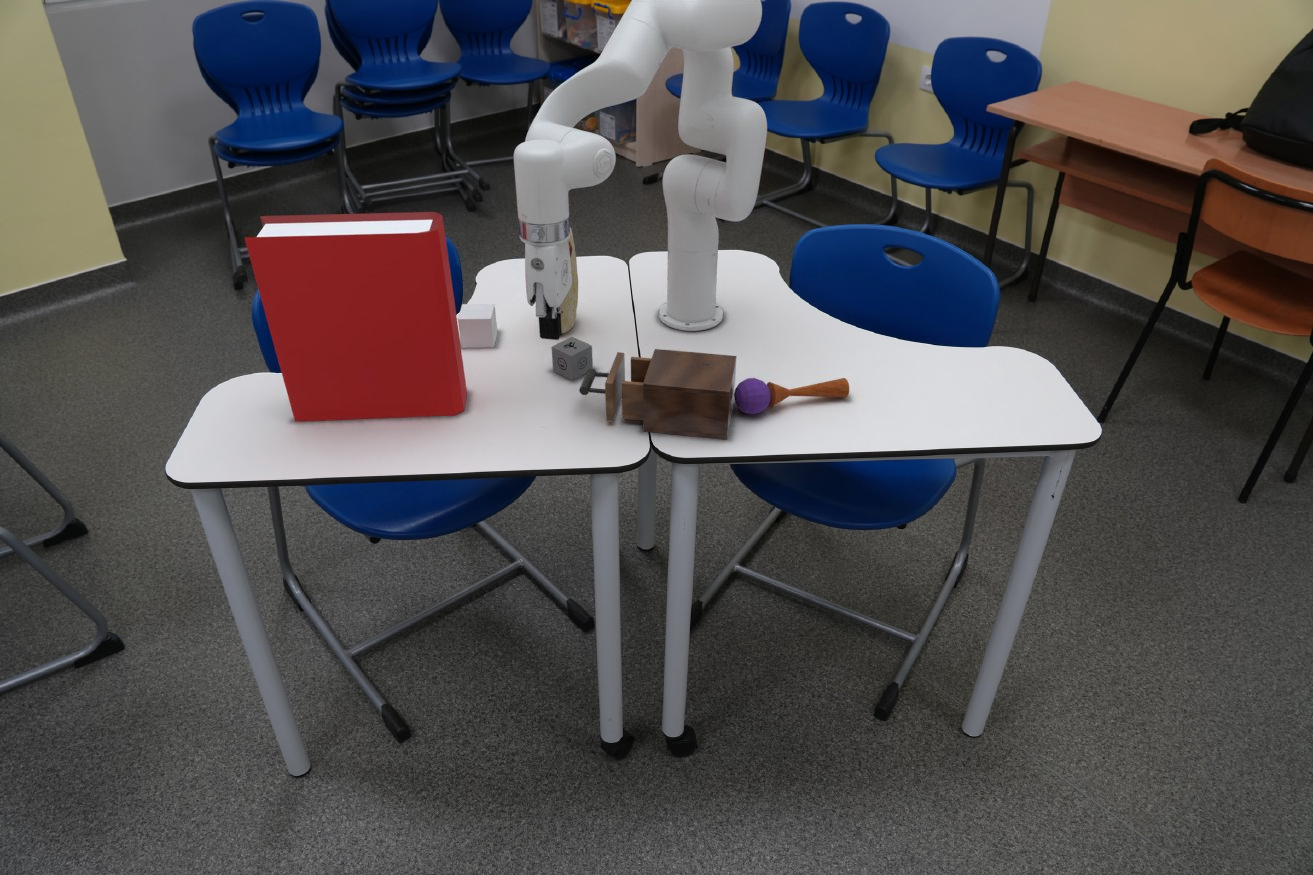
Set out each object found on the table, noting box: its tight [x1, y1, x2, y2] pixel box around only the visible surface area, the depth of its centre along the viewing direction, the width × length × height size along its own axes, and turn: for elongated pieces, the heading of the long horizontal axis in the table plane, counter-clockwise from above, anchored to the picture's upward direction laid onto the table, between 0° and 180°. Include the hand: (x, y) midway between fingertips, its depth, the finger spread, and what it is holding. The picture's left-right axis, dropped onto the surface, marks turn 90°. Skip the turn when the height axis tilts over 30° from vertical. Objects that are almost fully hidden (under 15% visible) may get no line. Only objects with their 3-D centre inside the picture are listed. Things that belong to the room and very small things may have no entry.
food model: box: [557, 227, 579, 334], centre depth 170 cm, size 10×7×20 cm
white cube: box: [457, 303, 498, 349], centre depth 169 cm, size 6×6×6 cm
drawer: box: [578, 351, 652, 423], centre depth 148 cm, size 17×10×7 cm, turn 81°
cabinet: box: [642, 348, 737, 440], centre depth 147 cm, size 14×11×9 cm
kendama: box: [734, 377, 850, 415], centre depth 151 cm, size 6×6×20 cm
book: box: [244, 211, 468, 422], centre depth 143 cm, size 27×8×32 cm, turn 94°
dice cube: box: [550, 336, 594, 382], centre depth 160 cm, size 5×5×5 cm
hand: (550, 336), depth 145 cm, fingers closed
